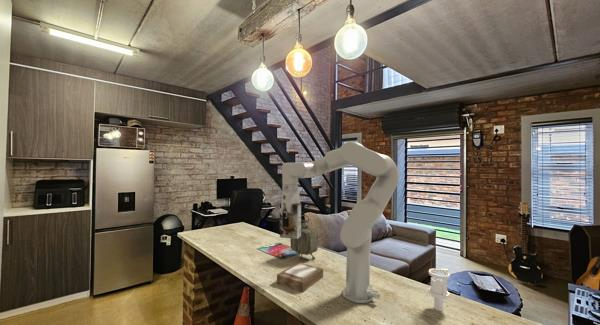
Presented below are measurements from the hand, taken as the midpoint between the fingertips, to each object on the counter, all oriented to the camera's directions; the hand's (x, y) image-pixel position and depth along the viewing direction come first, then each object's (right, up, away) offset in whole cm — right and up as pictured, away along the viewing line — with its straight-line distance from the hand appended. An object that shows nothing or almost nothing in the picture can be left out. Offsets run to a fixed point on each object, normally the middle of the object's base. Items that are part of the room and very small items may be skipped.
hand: (290, 224), depth 123 cm
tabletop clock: (+6, -25, +25) cm, 36 cm away
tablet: (-8, -26, +38) cm, 46 cm away
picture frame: (+5, -25, -3) cm, 26 cm away
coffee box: (0, -6, 0) cm, 6 cm away
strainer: (+58, -26, -25) cm, 68 cm away
